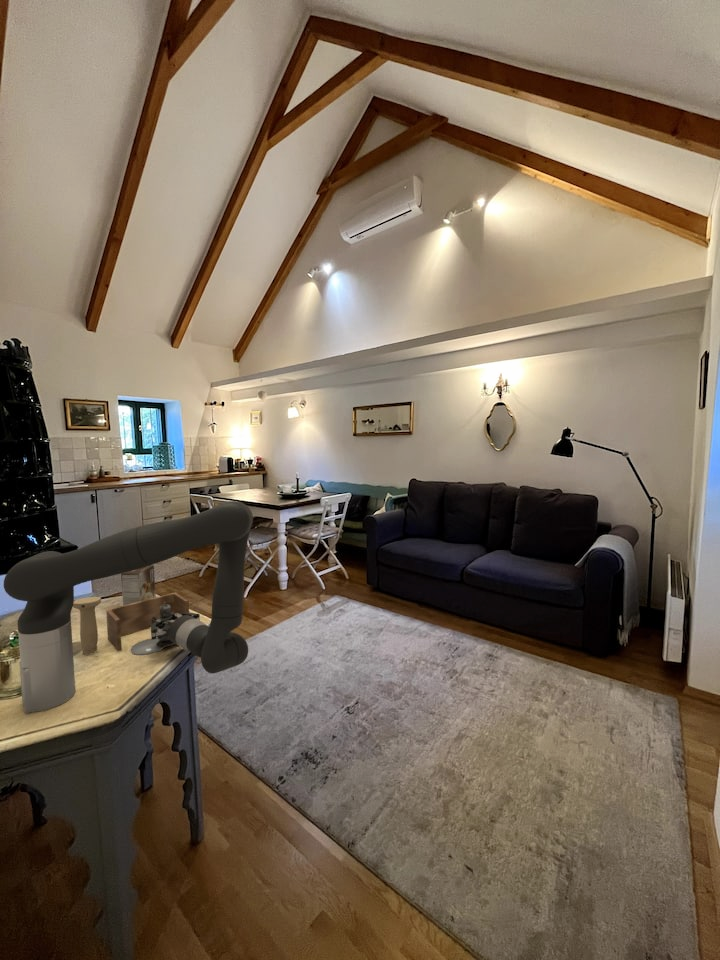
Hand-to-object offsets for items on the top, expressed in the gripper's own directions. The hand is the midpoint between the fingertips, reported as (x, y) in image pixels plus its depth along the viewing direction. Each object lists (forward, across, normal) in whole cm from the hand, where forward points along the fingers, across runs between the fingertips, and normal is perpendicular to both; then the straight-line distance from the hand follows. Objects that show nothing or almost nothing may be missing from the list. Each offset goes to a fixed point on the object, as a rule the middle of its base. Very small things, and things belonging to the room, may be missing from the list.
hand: (161, 617), depth 114 cm
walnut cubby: (+9, 0, +8) cm, 12 cm away
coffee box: (+26, -4, +8) cm, 28 cm away
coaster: (+1, +4, +8) cm, 8 cm away
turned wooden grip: (+10, +15, +8) cm, 20 cm away
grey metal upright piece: (-3, 0, +7) cm, 7 cm away
